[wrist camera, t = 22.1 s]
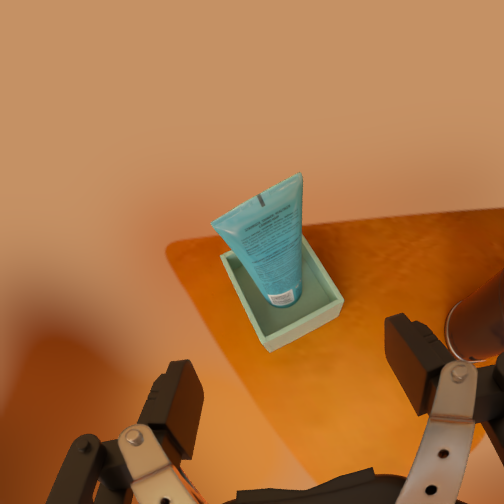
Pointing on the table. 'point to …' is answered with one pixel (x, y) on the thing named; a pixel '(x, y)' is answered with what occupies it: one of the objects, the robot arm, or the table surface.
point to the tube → (269, 240)
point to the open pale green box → (292, 318)
